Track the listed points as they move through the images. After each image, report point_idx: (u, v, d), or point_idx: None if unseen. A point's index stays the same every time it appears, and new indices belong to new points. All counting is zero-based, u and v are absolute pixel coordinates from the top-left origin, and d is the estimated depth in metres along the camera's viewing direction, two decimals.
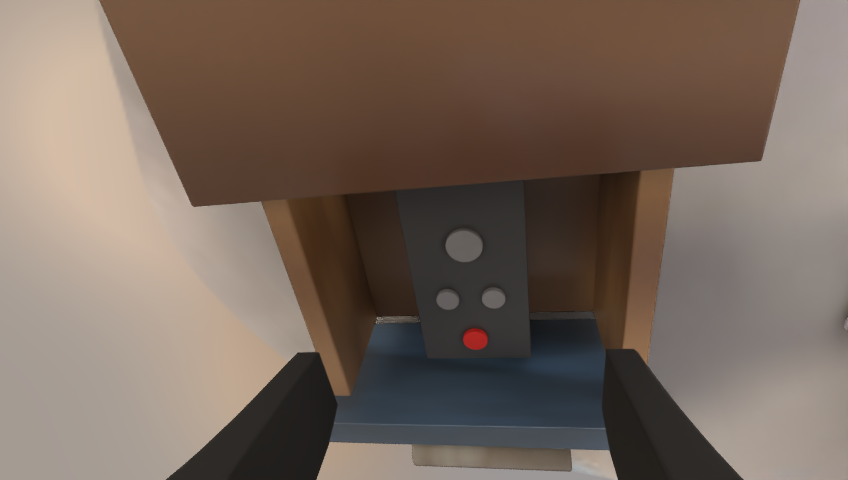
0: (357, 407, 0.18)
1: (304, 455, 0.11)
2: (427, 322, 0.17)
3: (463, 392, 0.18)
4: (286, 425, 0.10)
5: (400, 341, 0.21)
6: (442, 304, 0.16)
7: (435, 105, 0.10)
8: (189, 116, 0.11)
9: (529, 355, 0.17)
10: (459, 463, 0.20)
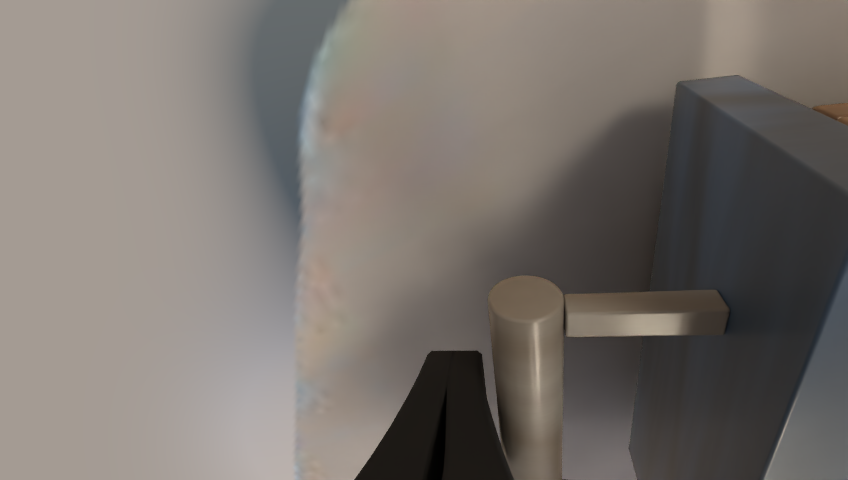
0: None
1: None
2: None
3: None
4: (444, 428, 0.09)
5: None
6: None
7: None
8: None
9: None
10: (534, 404, 0.09)
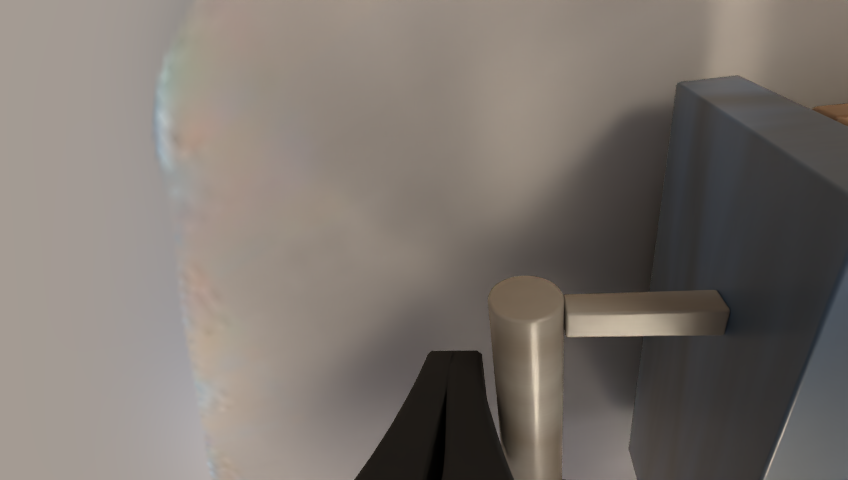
0: None
1: None
2: None
3: None
4: (444, 428, 0.09)
5: None
6: None
7: None
8: None
9: None
10: (534, 404, 0.09)
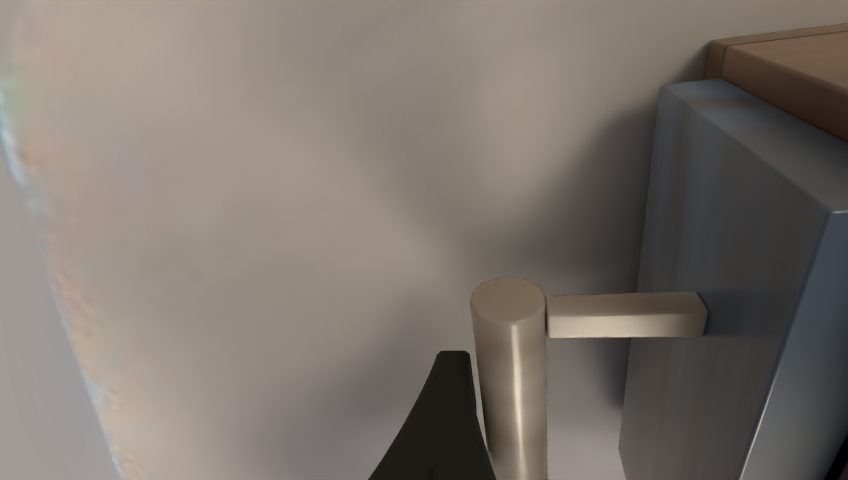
0: None
1: None
2: None
3: None
4: None
5: None
6: None
7: None
8: None
9: None
10: (516, 404, 0.09)
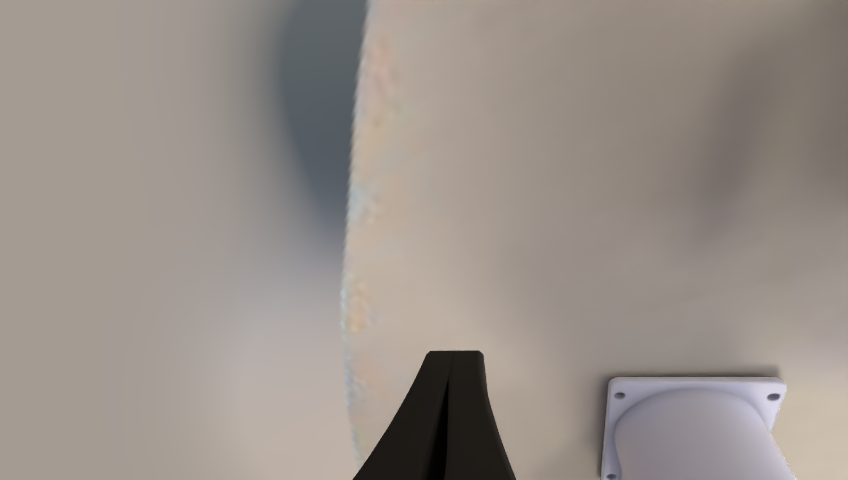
0: None
1: None
2: None
3: None
4: (442, 428, 0.09)
5: None
6: None
7: None
8: None
9: None
10: None
